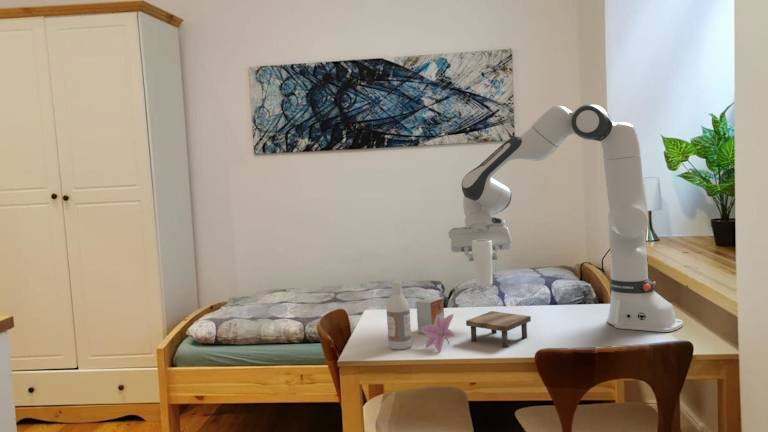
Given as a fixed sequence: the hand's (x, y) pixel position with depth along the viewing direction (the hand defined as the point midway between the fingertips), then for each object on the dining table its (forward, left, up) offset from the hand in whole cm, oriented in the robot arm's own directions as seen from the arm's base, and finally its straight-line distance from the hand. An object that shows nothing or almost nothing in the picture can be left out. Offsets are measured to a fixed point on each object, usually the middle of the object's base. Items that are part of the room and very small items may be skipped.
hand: (483, 259), depth 219 cm
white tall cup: (0, -1, -9) cm, 9 cm away
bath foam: (+8, +34, -22) cm, 41 cm away
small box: (+11, +15, -22) cm, 29 cm away
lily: (-2, +28, -22) cm, 36 cm away
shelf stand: (-13, +12, -22) cm, 28 cm away
